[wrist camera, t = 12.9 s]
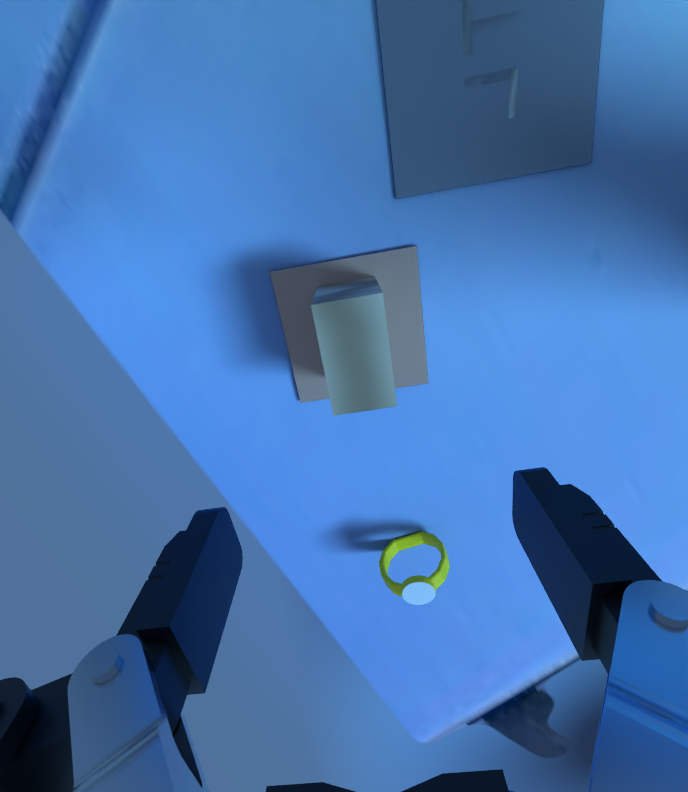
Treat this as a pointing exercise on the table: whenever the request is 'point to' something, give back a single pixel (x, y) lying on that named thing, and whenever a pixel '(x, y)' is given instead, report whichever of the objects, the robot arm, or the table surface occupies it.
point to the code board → (487, 88)
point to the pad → (401, 311)
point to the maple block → (354, 345)
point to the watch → (415, 587)
